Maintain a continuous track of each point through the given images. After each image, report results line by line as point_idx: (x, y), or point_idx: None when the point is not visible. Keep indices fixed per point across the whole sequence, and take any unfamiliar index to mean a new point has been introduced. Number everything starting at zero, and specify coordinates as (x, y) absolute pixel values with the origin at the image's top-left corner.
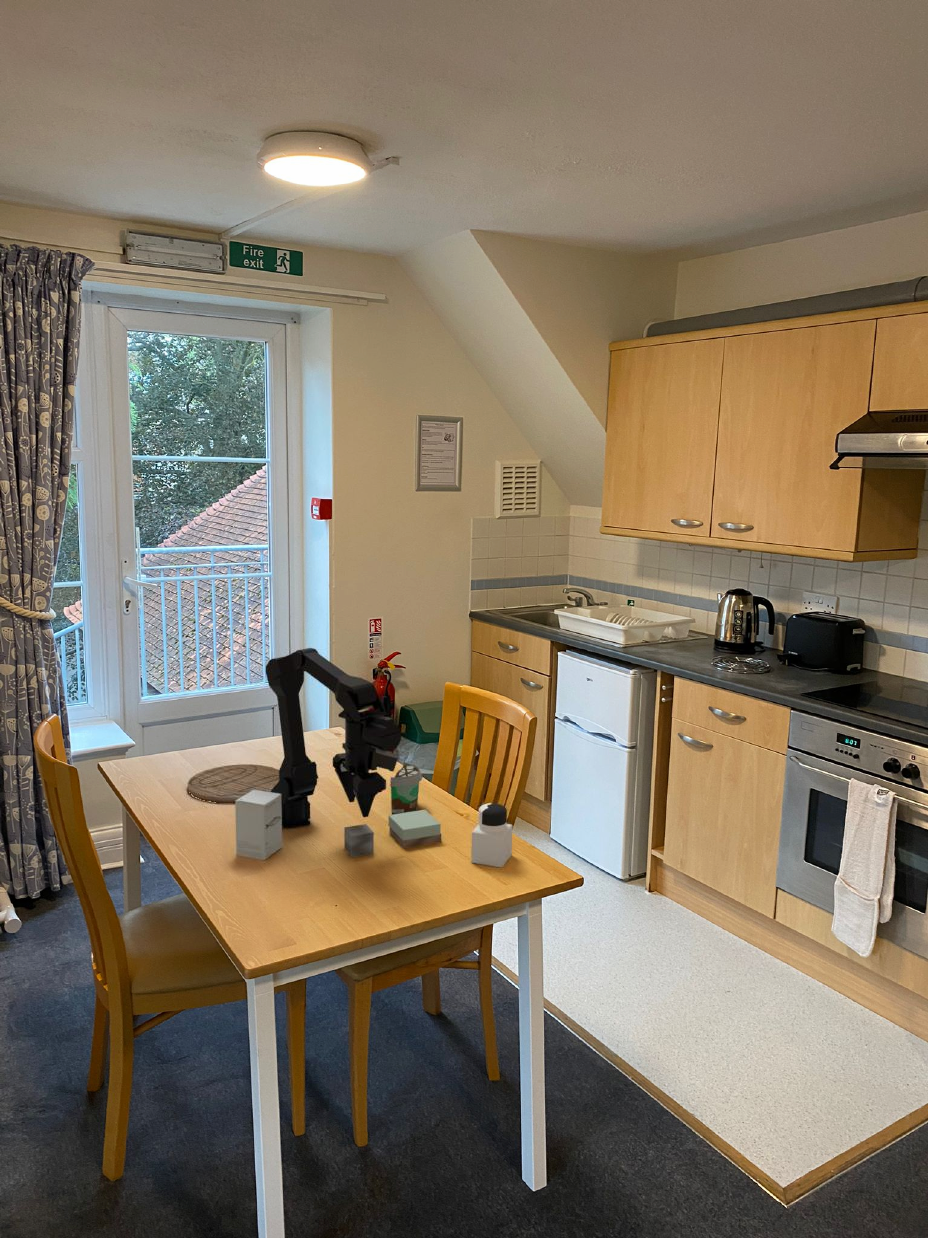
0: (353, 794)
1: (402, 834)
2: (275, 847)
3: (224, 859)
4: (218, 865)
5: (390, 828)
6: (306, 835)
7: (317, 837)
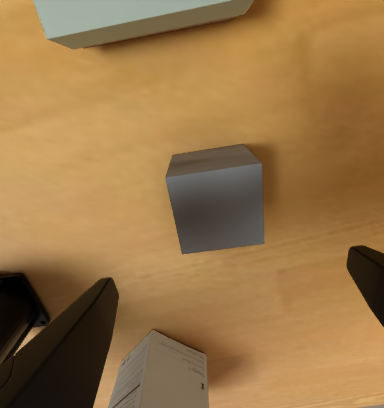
0: (96, 319)
1: (240, 7)
2: (173, 349)
3: None
4: None
5: None
6: (88, 284)
7: (102, 265)
